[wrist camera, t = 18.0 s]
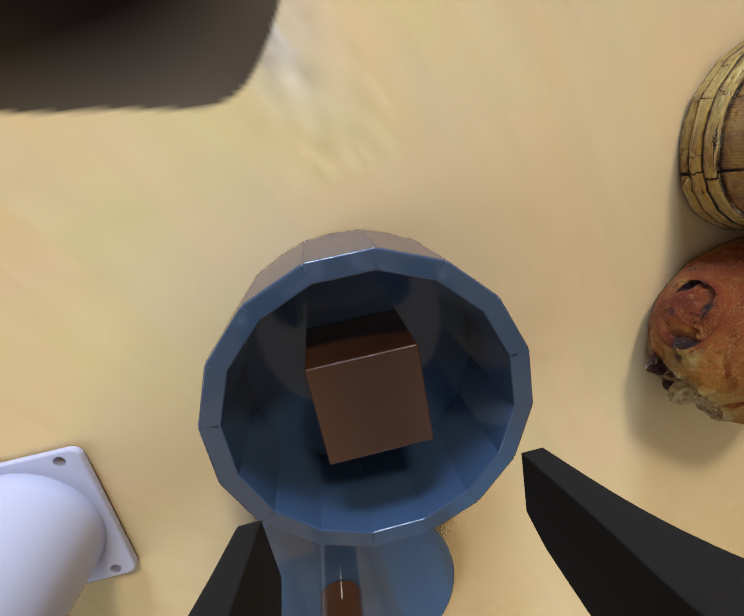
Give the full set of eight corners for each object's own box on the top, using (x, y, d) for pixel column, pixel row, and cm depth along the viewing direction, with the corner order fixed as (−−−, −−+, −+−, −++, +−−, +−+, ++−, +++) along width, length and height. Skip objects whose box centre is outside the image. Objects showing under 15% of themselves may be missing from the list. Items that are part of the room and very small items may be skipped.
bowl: (268, 486, 23) (255, 579, 17) (192, 262, 19) (147, 296, 13) (490, 430, 24) (540, 503, 18) (464, 205, 19) (519, 216, 14)
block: (326, 408, 21) (329, 466, 17) (305, 329, 20) (303, 370, 16) (410, 388, 21) (434, 439, 17) (396, 308, 20) (418, 343, 16)
